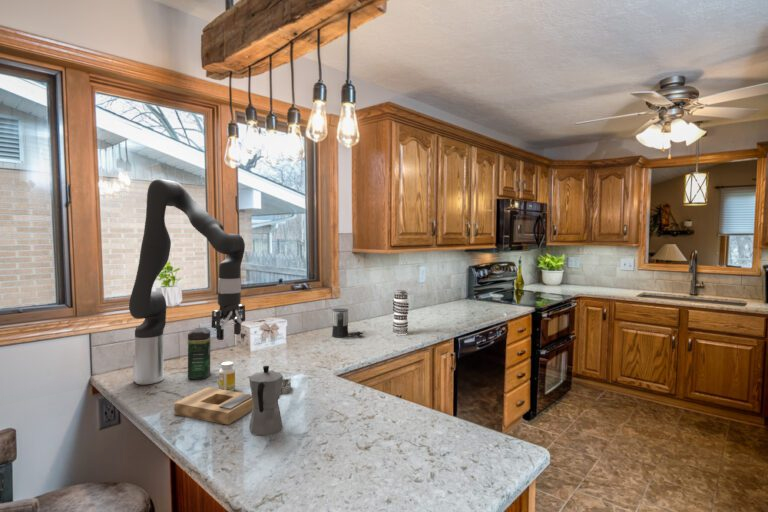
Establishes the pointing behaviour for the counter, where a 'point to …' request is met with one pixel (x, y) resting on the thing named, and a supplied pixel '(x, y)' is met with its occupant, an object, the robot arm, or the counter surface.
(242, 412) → the jig
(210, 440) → the counter surface
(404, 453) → the counter surface
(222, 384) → the supplement bottle
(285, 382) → the egg carton
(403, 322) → the grey striped cylinder
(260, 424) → the coffeepot
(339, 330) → the milk frother
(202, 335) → the coffee jar
